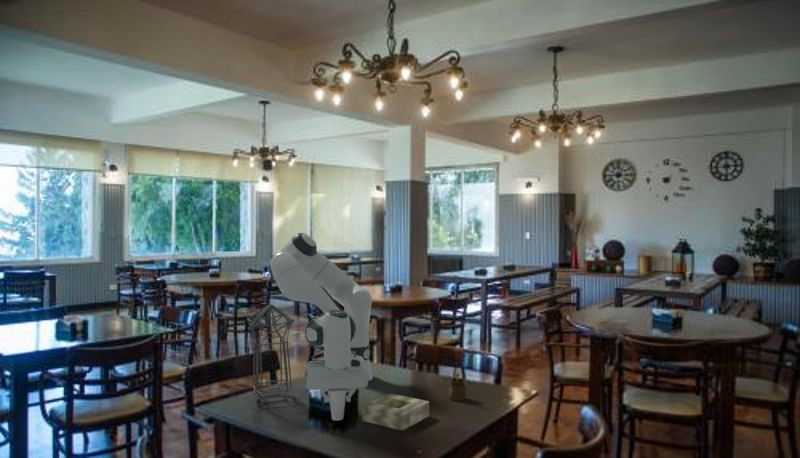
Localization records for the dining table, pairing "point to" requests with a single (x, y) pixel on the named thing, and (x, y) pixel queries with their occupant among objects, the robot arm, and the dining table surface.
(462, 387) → the brown bottle
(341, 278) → the robot arm
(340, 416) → the smoothie
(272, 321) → the geometric lantern
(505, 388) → the dining table surface
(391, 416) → the socket block
